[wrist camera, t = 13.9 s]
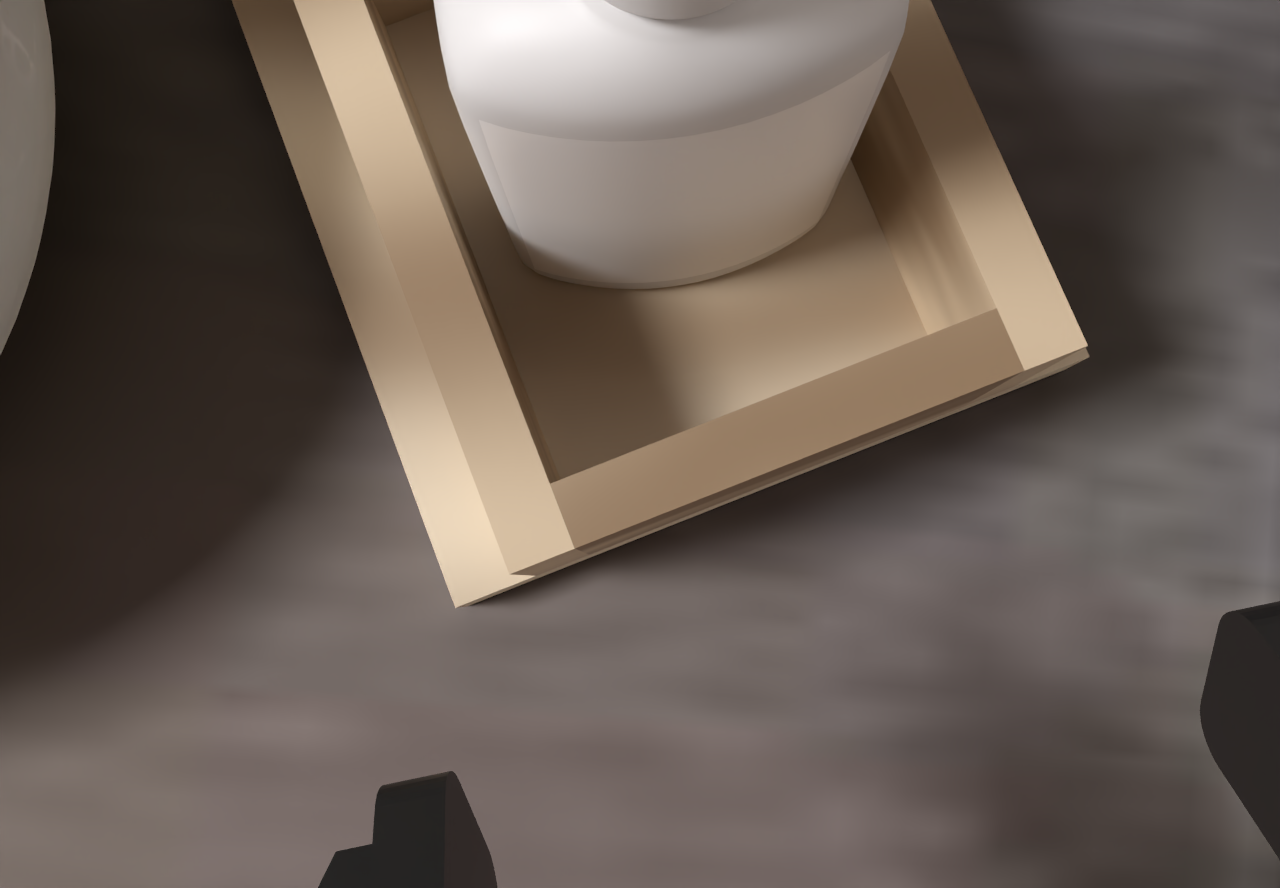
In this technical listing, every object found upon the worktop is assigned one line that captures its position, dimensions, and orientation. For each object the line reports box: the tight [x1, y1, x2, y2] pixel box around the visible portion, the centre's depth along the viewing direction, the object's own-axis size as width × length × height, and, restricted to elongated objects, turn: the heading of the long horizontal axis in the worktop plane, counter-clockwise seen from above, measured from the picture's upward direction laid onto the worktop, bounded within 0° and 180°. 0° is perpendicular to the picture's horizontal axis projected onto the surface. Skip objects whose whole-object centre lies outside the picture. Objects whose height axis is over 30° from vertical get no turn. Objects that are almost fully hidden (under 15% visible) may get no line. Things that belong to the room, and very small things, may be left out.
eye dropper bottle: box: [433, 0, 909, 289], centre depth 14 cm, size 4×6×12 cm
